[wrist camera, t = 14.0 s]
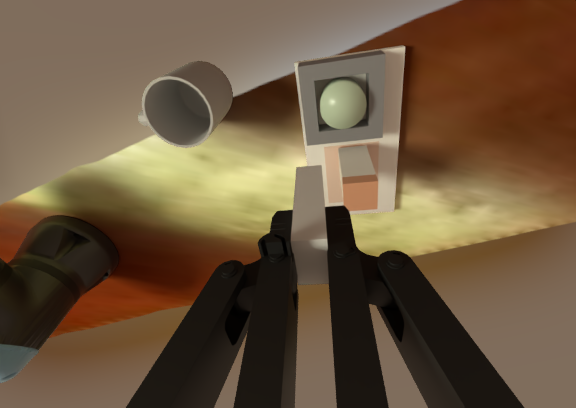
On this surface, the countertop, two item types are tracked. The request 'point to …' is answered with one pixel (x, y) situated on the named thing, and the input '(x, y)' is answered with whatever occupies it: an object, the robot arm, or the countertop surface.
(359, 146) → the grey and orange block
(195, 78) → the cup
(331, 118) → the button
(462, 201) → the countertop surface
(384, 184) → the board
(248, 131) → the countertop surface
